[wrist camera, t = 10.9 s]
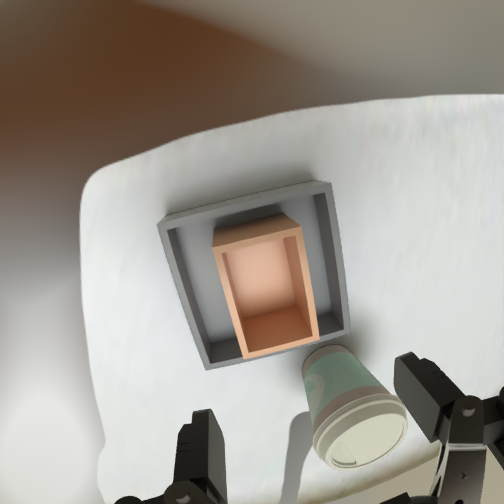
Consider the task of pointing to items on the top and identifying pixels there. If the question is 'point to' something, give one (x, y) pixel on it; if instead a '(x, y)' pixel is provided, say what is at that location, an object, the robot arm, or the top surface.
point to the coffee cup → (350, 410)
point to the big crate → (207, 276)
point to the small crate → (266, 284)
